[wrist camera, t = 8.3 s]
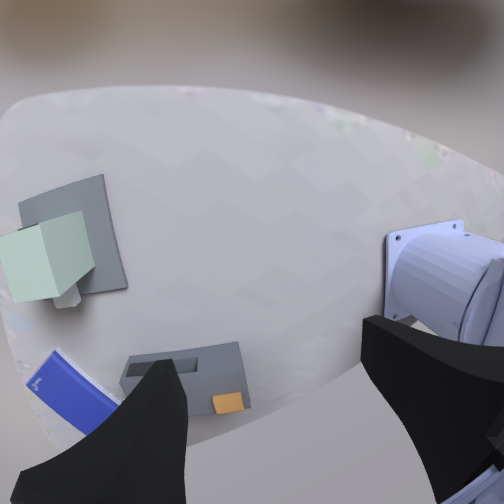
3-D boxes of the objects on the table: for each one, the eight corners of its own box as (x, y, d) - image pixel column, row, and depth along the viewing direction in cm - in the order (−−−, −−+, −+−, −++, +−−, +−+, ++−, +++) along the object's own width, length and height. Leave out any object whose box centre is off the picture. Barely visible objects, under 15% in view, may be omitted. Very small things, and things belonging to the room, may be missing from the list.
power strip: (237, 340, 21) (243, 373, 17) (246, 379, 22) (252, 413, 18) (129, 355, 20) (116, 387, 16) (145, 391, 21) (137, 424, 17)
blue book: (24, 386, 19) (113, 454, 22) (52, 352, 18) (156, 434, 22) (30, 377, 20) (115, 445, 24) (59, 343, 20) (157, 423, 23)
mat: (103, 174, 17) (101, 174, 16) (128, 285, 19) (126, 287, 18) (20, 202, 16) (18, 202, 16) (46, 298, 18) (44, 300, 18)
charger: (81, 209, 17) (39, 222, 11) (102, 289, 18) (70, 325, 13) (40, 221, 16) (-5, 237, 11) (60, 295, 18) (25, 329, 13)
